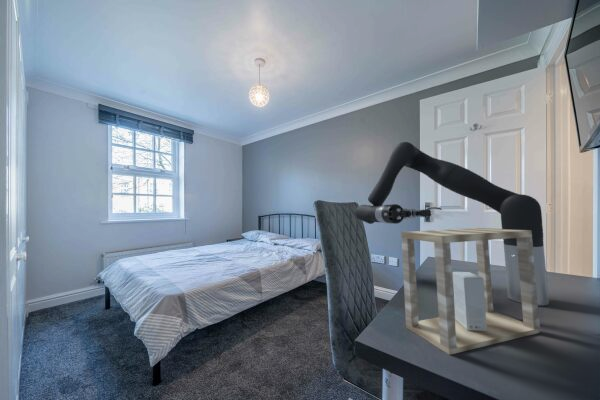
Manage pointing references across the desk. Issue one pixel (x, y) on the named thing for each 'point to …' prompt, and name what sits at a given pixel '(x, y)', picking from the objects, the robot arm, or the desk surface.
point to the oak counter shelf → (493, 318)
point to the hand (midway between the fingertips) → (419, 213)
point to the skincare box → (469, 301)
